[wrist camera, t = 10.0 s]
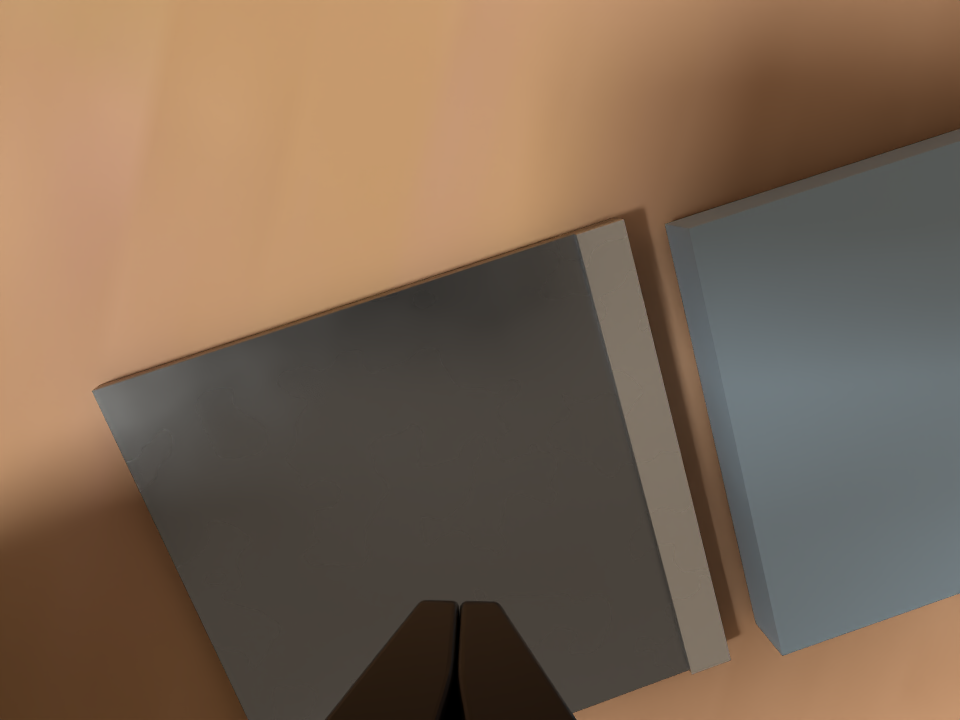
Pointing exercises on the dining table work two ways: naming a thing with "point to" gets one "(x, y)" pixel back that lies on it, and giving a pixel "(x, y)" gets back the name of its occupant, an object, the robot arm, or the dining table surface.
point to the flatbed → (432, 479)
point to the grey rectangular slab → (835, 386)
